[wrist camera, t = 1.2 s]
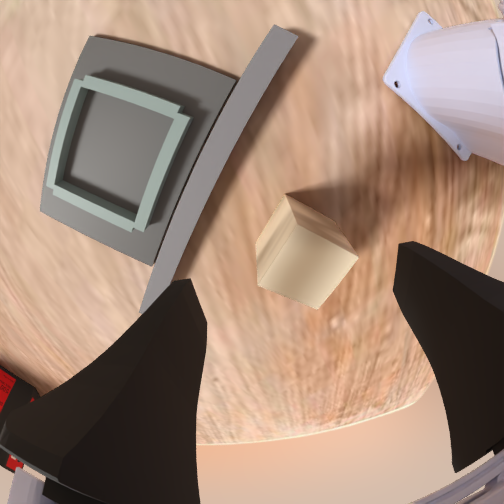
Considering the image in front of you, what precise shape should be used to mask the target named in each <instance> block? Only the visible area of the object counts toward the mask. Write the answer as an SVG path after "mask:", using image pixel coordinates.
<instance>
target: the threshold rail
mask: <svg viewBox="0 0 504 504" xmlns="http://www.w3.org/2000/svg"><path fill="white" fill-rule="evenodd" d="M298 37H299V36H297V35H295V34H293V33H291V32H289V31H287V30H285V29H283V28H281V27H279V26H277V25H273V27H272V28H271V30H270V31H269V33H268V34H267V36H266V37H265V39H264V41H263V42H262V44H261V45H260V47H259V48H258V50H257V52H256V53H255V55H254V56H253V58H252V60H251V61H250V63H249V65H248V66H247V68H246V70H245V71H244V73H243V75H242V76H241V78H240V80H239V82H238V83H237V85H236V87H235V89H234V90H233V92H232V94H231V96H230V98H229V99H228V101H227V103H226V105H225V107H224V109H223V110H222V112H221V114H220V116H219V118H218V120H217V122H216V124H215V126H214V128H213V130H212V132H211V134H210V136H209V138H208V140H207V142H206V144H205V146H204V148H203V150H202V152H201V154H200V156H199V158H198V160H197V163H196V165H195V167H194V169H193V171H192V173H191V176H190V178H189V180H188V182H187V185H186V187H185V189H184V192H183V194H182V196H181V199H180V201H179V203H178V206H177V208H176V210H175V213H174V215H173V218H172V220H171V223H170V225H169V228H168V230H167V233H166V236H165V238H164V241H163V243H162V246H161V249H160V251H159V254H158V257H157V260H156V262H155V265H154V268H153V271H152V274H151V277H150V280H149V283H148V286H147V289H146V292H145V295H144V298H143V301H142V304H141V307H140V311H139V313H141V314H143V313H144V312H145V311H146V310H147V309H148V308H149V306H150V305H151V304H152V303H153V302H154V301H155V300H156V299H157V298H158V297H159V296H160V294H161V293H162V292H163V291H164V290H165V289H166V288H167V287H168V286H169V285H170V283H171V280H172V278H173V276H174V273H175V271H176V268H177V266H178V264H179V261H180V259H181V257H182V254H183V252H184V250H185V247H186V245H187V243H188V241H189V238H190V236H191V234H192V232H193V230H194V227H195V225H196V223H197V221H198V219H199V216H200V214H201V212H202V210H203V208H204V206H205V204H206V202H207V199H208V197H209V195H210V193H211V191H212V189H213V187H214V185H215V183H216V181H217V179H218V177H219V175H220V173H221V171H222V169H223V167H224V165H225V163H226V161H227V159H228V157H229V155H230V153H231V151H232V149H233V148H234V146H235V144H236V142H237V140H238V138H239V136H240V134H241V133H242V131H243V129H244V127H245V125H246V123H247V122H248V120H249V118H250V116H251V114H252V113H253V111H254V109H255V107H256V105H257V104H258V102H259V100H260V98H261V97H262V95H263V93H264V92H265V90H266V88H267V86H268V85H269V83H270V81H271V80H272V78H273V76H274V75H275V73H276V71H277V70H278V68H279V67H280V65H281V63H282V62H283V60H284V58H285V57H286V55H287V54H288V52H289V51H290V49H291V47H292V46H293V44H294V43H295V41H296V40H297V38H298Z"/></svg>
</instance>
